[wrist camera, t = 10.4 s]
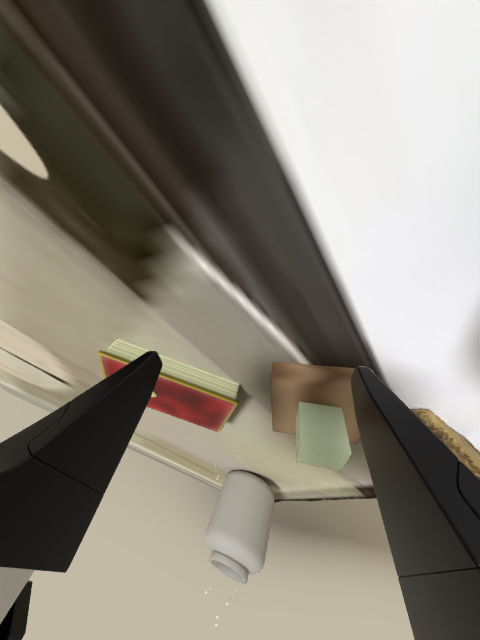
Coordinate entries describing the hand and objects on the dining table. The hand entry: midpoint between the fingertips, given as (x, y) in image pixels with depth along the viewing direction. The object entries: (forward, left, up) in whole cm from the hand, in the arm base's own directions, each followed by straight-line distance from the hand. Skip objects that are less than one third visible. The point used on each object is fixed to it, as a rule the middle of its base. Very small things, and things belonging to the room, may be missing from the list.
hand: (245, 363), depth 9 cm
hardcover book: (+17, +21, -13) cm, 30 cm away
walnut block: (-6, +20, -13) cm, 25 cm away
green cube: (-6, +20, -9) cm, 22 cm away
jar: (+9, +64, -13) cm, 66 cm away
